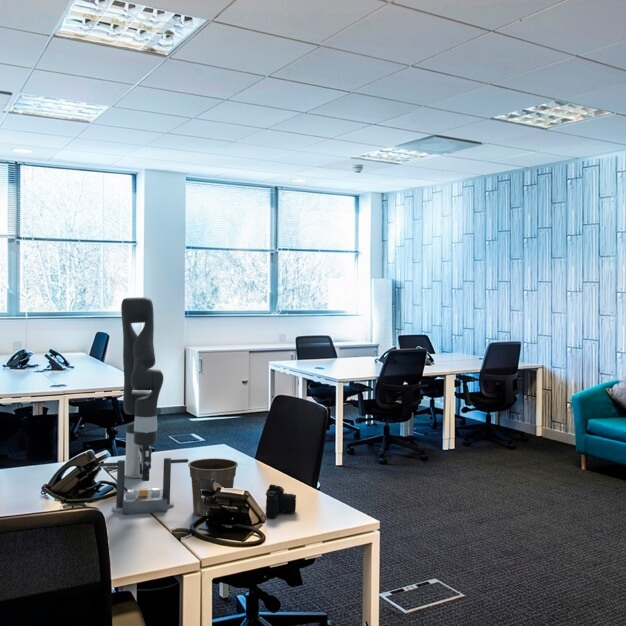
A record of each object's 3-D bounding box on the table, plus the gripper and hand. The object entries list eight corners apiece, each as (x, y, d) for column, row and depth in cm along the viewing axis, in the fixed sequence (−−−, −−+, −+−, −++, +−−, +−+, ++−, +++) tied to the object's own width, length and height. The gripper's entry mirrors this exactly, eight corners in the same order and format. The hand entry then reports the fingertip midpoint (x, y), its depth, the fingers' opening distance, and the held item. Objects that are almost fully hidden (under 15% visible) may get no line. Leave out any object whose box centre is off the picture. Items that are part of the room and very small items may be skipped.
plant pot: (182, 506, 226) (183, 459, 226) (229, 502, 232) (230, 456, 232) (192, 522, 211) (194, 471, 210) (242, 517, 217) (243, 467, 216)
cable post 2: (157, 504, 227) (158, 457, 227) (186, 502, 231) (187, 456, 231) (159, 508, 223) (160, 460, 222) (188, 506, 226) (189, 459, 226)
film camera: (293, 521, 215) (293, 493, 215) (263, 519, 215) (263, 491, 215) (296, 507, 230) (297, 480, 230) (268, 505, 231) (269, 479, 230)
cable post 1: (97, 508, 221) (98, 460, 220) (127, 506, 224) (128, 458, 224) (97, 513, 216) (99, 463, 216) (128, 511, 219) (129, 462, 219)
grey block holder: (120, 503, 227) (120, 486, 226) (162, 500, 231) (162, 483, 231) (122, 514, 215) (123, 496, 215) (167, 511, 220) (167, 493, 220)
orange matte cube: (139, 494, 224) (139, 488, 224) (146, 494, 225) (147, 488, 225) (140, 496, 222) (140, 490, 222) (147, 496, 223) (147, 490, 223)
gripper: (132, 425, 228) (130, 472, 229) (136, 433, 215) (134, 483, 215) (154, 424, 231) (153, 471, 231) (159, 432, 218) (158, 482, 218)
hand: (144, 477), depth 223 cm, fingers open, 8 cm apart
